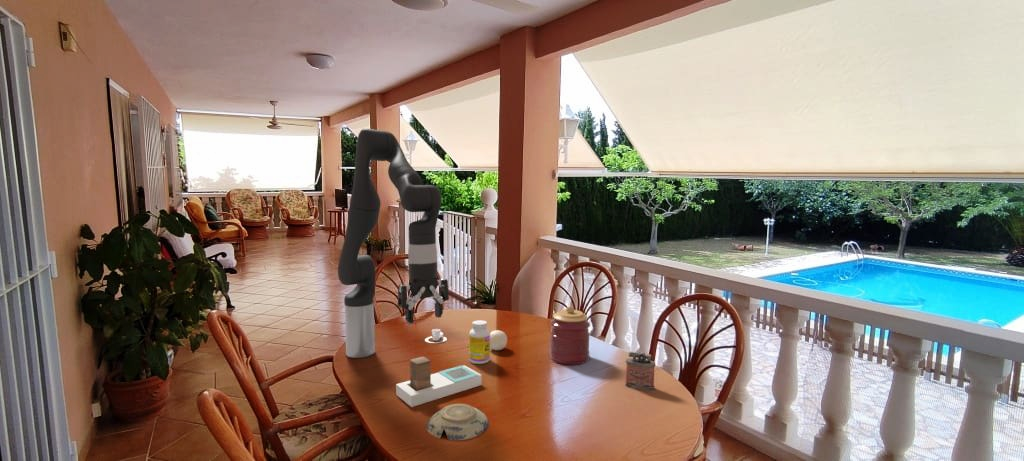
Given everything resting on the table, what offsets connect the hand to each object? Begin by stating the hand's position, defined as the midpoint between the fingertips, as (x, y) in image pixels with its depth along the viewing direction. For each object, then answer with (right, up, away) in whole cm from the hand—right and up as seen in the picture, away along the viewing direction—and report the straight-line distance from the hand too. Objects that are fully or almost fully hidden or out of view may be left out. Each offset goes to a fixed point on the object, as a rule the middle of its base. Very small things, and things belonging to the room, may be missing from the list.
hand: (424, 319), depth 128 cm
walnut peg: (-1, -21, +1) cm, 21 cm away
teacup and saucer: (-2, -17, +48) cm, 51 cm away
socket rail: (+3, -20, +5) cm, 21 cm away
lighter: (+60, -21, +8) cm, 64 cm away
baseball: (+18, -17, +37) cm, 45 cm away
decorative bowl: (+11, -23, -14) cm, 29 cm away
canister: (+43, -18, +29) cm, 55 cm away
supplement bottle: (+13, -18, +26) cm, 35 cm away
